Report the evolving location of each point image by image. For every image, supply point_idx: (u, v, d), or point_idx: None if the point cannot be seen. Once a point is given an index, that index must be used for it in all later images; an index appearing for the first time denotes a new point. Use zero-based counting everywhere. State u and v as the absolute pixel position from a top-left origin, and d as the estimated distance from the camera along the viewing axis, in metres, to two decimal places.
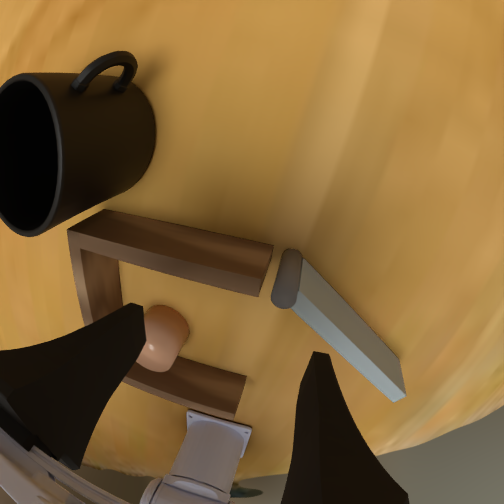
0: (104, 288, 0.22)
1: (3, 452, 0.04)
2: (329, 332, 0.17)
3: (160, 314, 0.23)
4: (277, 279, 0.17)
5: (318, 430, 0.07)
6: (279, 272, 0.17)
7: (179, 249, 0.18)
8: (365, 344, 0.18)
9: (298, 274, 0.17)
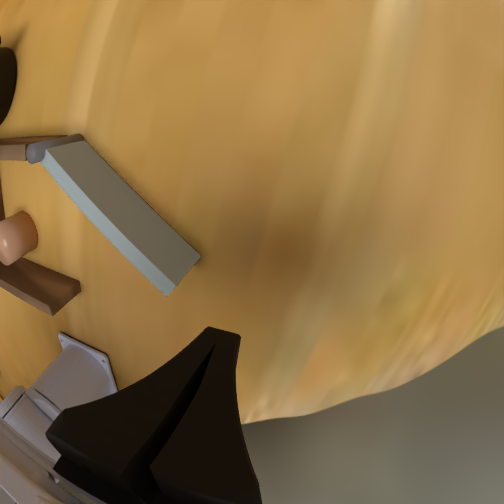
0: None
1: (3, 452, 0.04)
2: (69, 187, 0.16)
3: (15, 215, 0.22)
4: None
5: (192, 401, 0.07)
6: None
7: (4, 143, 0.16)
8: (116, 208, 0.17)
9: (58, 142, 0.16)
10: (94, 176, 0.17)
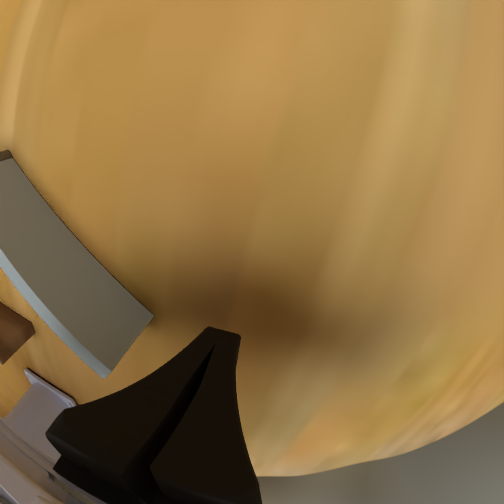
0: None
1: (3, 452, 0.04)
2: None
3: None
4: None
5: (192, 401, 0.07)
6: None
7: None
8: (34, 257, 0.11)
9: None
10: (12, 210, 0.11)
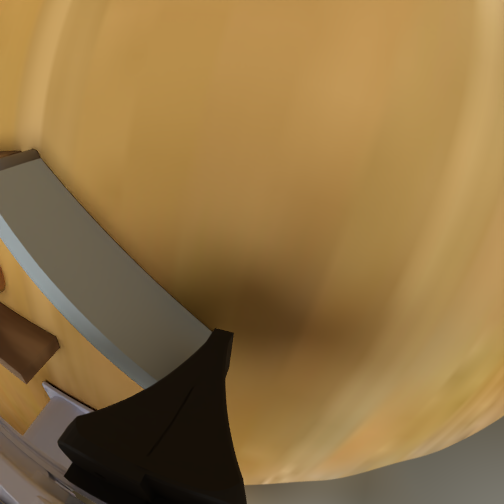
0: None
1: (3, 452, 0.04)
2: (10, 240, 0.09)
3: None
4: None
5: (181, 397, 0.07)
6: None
7: None
8: (80, 275, 0.10)
9: None
10: (47, 219, 0.10)
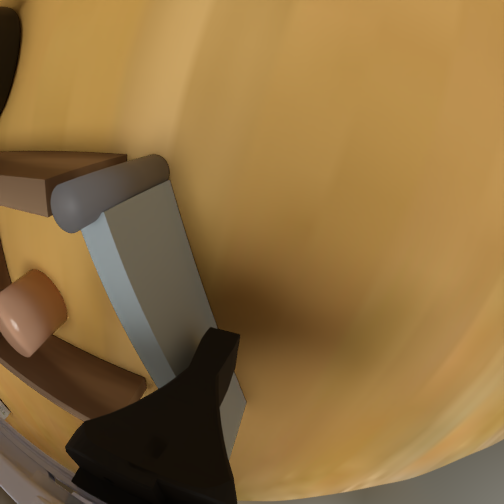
0: None
1: (3, 452, 0.04)
2: (132, 318, 0.09)
3: (26, 279, 0.14)
4: (84, 175, 0.07)
5: (174, 395, 0.07)
6: (101, 169, 0.08)
7: None
8: None
9: (129, 189, 0.08)
10: (174, 293, 0.10)
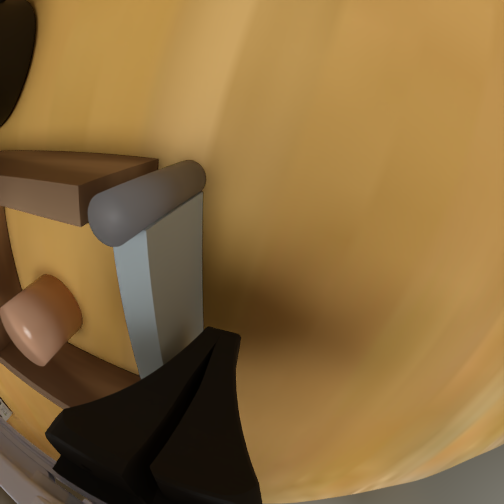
0: None
1: (3, 452, 0.04)
2: (142, 329, 0.09)
3: (39, 285, 0.14)
4: (131, 181, 0.07)
5: (192, 401, 0.07)
6: (147, 175, 0.08)
7: (13, 167, 0.08)
8: None
9: (171, 205, 0.08)
10: (181, 307, 0.11)
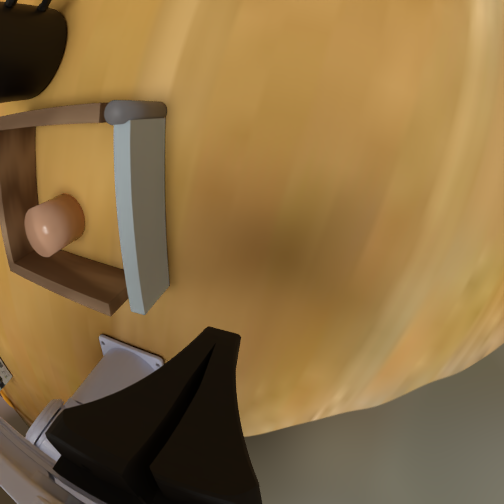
0: (18, 177, 0.20)
1: (3, 452, 0.04)
2: (123, 180, 0.16)
3: (57, 198, 0.21)
4: (125, 100, 0.14)
5: (192, 401, 0.07)
6: None
7: None
8: (144, 226, 0.18)
9: (144, 114, 0.15)
10: (148, 178, 0.17)
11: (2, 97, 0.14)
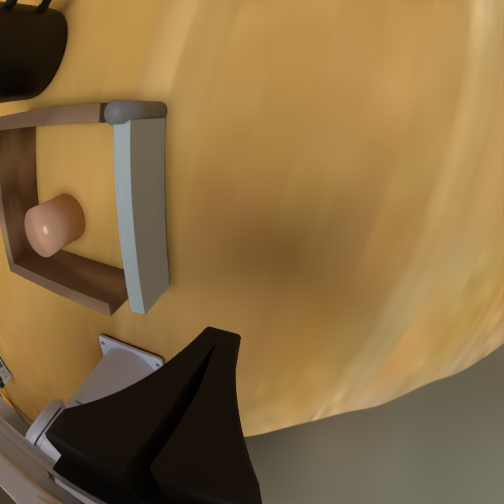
0: (18, 177, 0.20)
1: (3, 452, 0.04)
2: (123, 180, 0.16)
3: (57, 198, 0.21)
4: (125, 100, 0.14)
5: (192, 401, 0.07)
6: None
7: None
8: (144, 226, 0.18)
9: (144, 114, 0.15)
10: (148, 178, 0.17)
11: (2, 97, 0.14)
